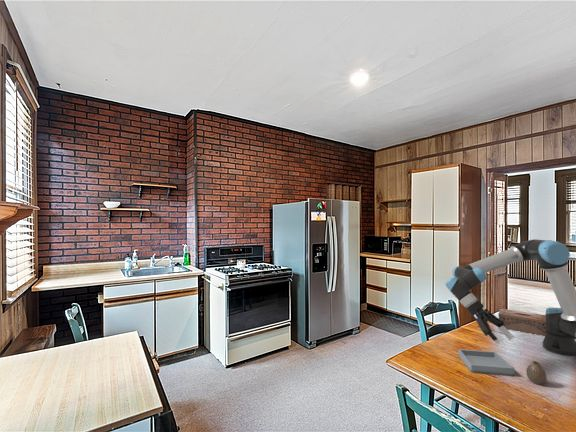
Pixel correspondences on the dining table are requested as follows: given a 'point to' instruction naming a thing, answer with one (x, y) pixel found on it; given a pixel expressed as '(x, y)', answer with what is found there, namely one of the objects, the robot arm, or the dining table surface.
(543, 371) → the vase
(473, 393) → the dining table surface
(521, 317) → the tissue box cover
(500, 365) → the box
